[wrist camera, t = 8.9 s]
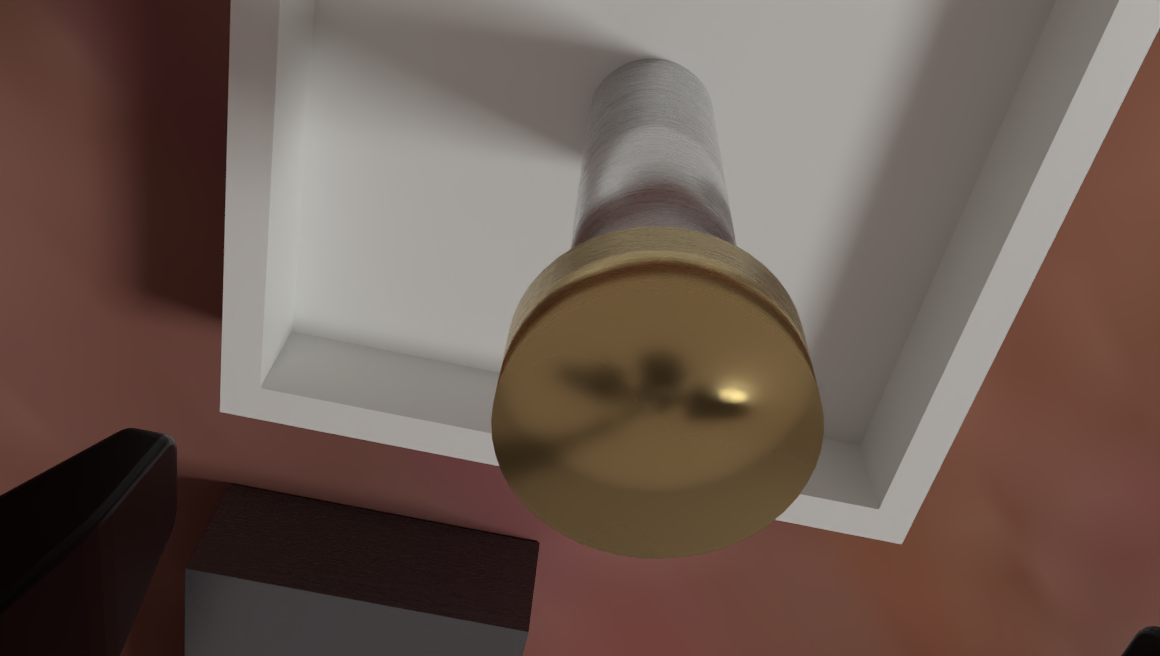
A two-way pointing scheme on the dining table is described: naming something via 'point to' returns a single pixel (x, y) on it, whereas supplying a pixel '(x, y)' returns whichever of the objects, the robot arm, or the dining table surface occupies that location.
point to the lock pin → (655, 346)
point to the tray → (753, 180)
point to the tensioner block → (351, 583)
